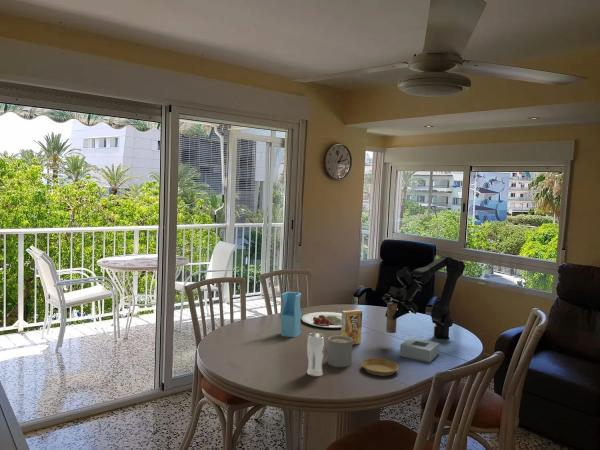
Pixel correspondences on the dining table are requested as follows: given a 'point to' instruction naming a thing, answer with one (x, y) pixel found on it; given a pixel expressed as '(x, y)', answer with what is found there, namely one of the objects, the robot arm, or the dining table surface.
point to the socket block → (419, 349)
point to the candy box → (352, 325)
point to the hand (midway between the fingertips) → (389, 317)
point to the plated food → (323, 319)
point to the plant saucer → (379, 367)
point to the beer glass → (315, 353)
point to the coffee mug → (339, 351)
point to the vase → (291, 314)
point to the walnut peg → (390, 322)
